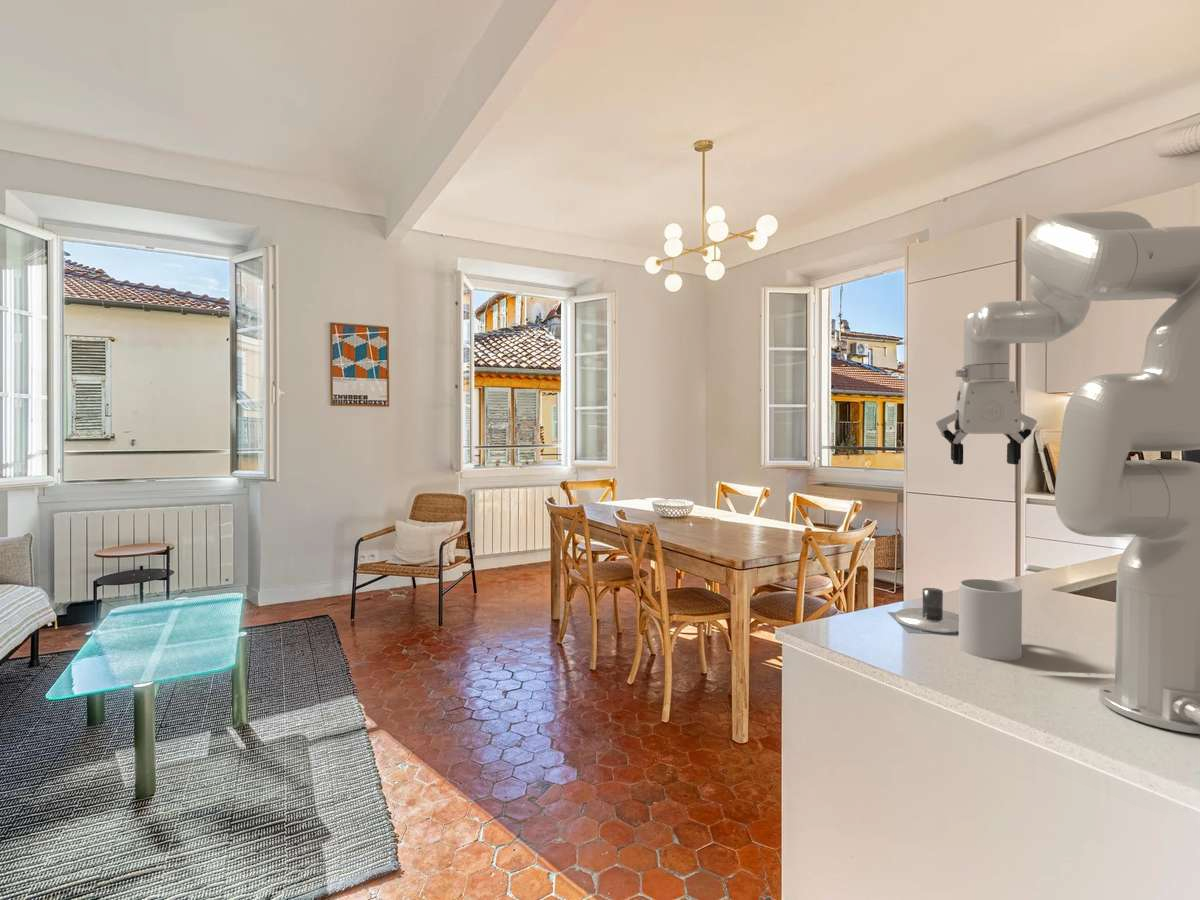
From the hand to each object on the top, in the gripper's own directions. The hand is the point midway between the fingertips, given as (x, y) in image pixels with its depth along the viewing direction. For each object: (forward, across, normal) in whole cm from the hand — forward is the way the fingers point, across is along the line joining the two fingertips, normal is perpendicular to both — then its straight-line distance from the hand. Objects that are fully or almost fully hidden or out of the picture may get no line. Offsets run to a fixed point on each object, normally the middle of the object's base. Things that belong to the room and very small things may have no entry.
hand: (985, 464), depth 120 cm
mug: (+29, -8, -23) cm, 38 cm away
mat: (+29, -13, -11) cm, 33 cm away
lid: (+28, -13, -11) cm, 33 cm away
